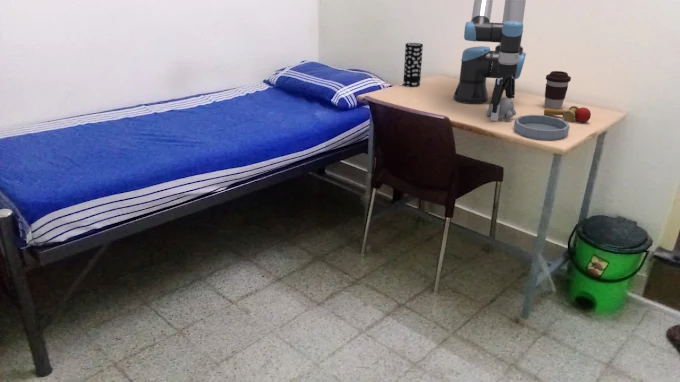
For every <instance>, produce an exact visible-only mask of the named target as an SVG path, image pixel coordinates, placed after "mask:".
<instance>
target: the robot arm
mask: <svg viewBox="0 0 680 382" xmlns="http://www.w3.org/2000/svg"><path fill="white" fill-rule="evenodd" d="M493 1H494V0H474V2H473V6H472V12H471V13H472V14H471V20H470V21H466V22H465V26H464V34H463V38H464V40H465V41H469V42H481V43H482V42H483V43H484V42H485V43H498V44H497V45H496V46H495V48H494V49H495V50H491V47H490V46H483V45H482V46H472V47H467V48H465V49H464V50H463V51H462V55H461V59H460V61H461V64H460V73H459V81H458V84H457V87H456V89H455V92H454V94H453V99H454V101H456V102H458V103H459V102H460V103H463V104H470V105H473V104H474V105H478V104H479V105H480V104H484V103H486V102H488V99H489V92H488V89H487V78H488V79H495V80H494V81H495V82H494V86H493V91H492V94H491V98H490V101H489V104H490V105H491V104H493V105H492V112H491V116H490V121H495V122H497V121H498V119H499V107H500V105H499V102H500V100H501V98H503V97H502V96H503V94H504V91H505V97H506V98H509V99H511V100H512V99H515V94H516V80H518V79H519V78H520V76H521V73H522V70H523V67H524V63H525V59H526V55H527V53H526V52H524V47H523V46H522V45H521V44H522V39H523V33H524V17H525V10H526V9H525V8H526V1H527V0H505V1H504V5H503V6H504V8H503V15H502V21H501V22H491V15H492V9H493ZM512 101H513V100H512Z"/></svg>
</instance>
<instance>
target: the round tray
mask: <svg viewBox="0 0 680 382" xmlns="http://www.w3.org/2000/svg"><path fill="white" fill-rule="evenodd" d="M513 124H514V125H513V127H514V132H515V133H516V134H518V135H520V136H522V137H525V138H529V139H533V140H540V141H557V140H558V139H559V140H561V139H565V138H566V137H567V135H569V131H570V128H571V127H570V125H569V122H568V121H565V120H564V119H562V118H561V119H560V118H558V117H554V116H551V115H541V114H526V115H519V116H518V117H516V118H515V119H514V123H513Z"/></svg>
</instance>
